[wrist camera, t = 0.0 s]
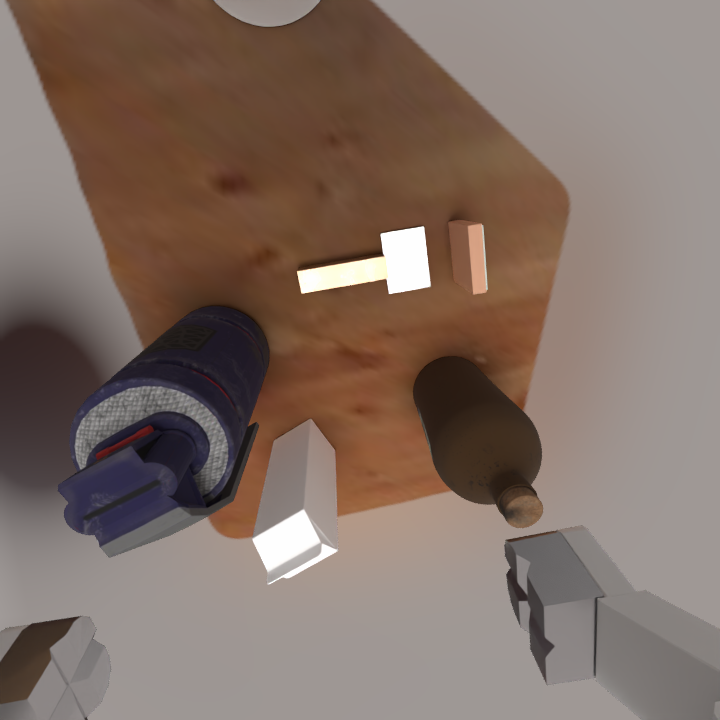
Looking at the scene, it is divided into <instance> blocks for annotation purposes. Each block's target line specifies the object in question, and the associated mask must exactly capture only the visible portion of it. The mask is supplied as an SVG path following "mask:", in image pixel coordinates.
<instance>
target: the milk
mask: <svg viewBox="0 0 720 720" xmlns="http://www.w3.org/2000/svg"><path fill="white" fill-rule="evenodd" d="M337 528H338V527H337V493H336V459H335V450H334V448H333V447H332V446H331V444H330V443H329V442H328V440H327V439H326V438H325V436H324V435H323V434H322V432H321V431H320V430H319V428H318V427H317V426H316V424H315V423H314V422H313V420H312V419H311V418H310V419H309V420H307V421H305V422H304V423H302V424H300V425H299V426H297V427H295V428H294V429H292V430H290V431H289V432H287V433H285V434H284V435H282V436H280V437H279V438H277V439H275V440H274V442H273V447H272V451H271V456H270V460H269V465H268V470H267V474H266V479H265V483H264V488H263V492H262V497H261V501H260V506H259V511H258V515H257V520H256V524H255V529H254V533H253V538H252V539H253V542H254V544H255V546H256V548H257V551H258V553H259V554H260V557H261V559H262V561H263V563H264V565H265V567H266V569H267V571H268V576H267V584H271V583H273V582H274V581H276V580H278V579H280V578H282V577H284V578H290V577H291V576H294V575H295V574H297V573H299V572H301V571H303V570H304V569H306V568H308V567H310V566H311V565H313V564H315V563H317V562H319V561H321V560H322V559H324V558H326V557H328V556H330V555H331V554H333V553H335V552H337V551H338V529H337Z"/></svg>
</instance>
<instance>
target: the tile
mask: <svg viewBox="0 0 720 720" xmlns="http://www.w3.org/2000/svg"><path fill="white" fill-rule="evenodd" d="M448 224H449V235H450V246H451V257H452V268H453V278H454V282H456V283H457V284H458V285H460V286H461V287H463V288H464V289H466V290H467V291H469V292H470V293H472V294H473V295H474V294H480V293H485V292H486V290H488V289H487V274H486V259H485V245H484V230H483V225H482V224H481V223H476V222H470V221H465V220H455V221H449V222H448Z"/></svg>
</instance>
